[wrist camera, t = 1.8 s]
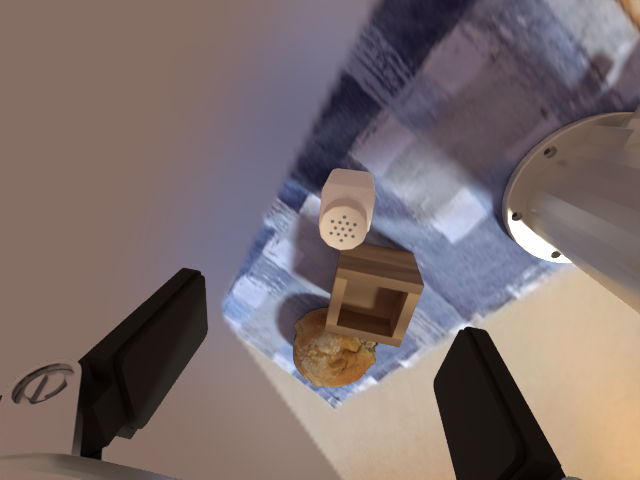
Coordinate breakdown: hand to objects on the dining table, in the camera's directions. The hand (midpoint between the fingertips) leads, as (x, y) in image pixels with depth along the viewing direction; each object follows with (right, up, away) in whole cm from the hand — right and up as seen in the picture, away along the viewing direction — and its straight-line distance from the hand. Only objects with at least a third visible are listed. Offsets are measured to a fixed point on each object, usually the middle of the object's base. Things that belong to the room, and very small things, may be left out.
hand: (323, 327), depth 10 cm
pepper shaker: (+3, +8, +16) cm, 19 cm away
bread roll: (+2, -9, +25) cm, 27 cm away
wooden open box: (+5, -1, +20) cm, 21 cm away
